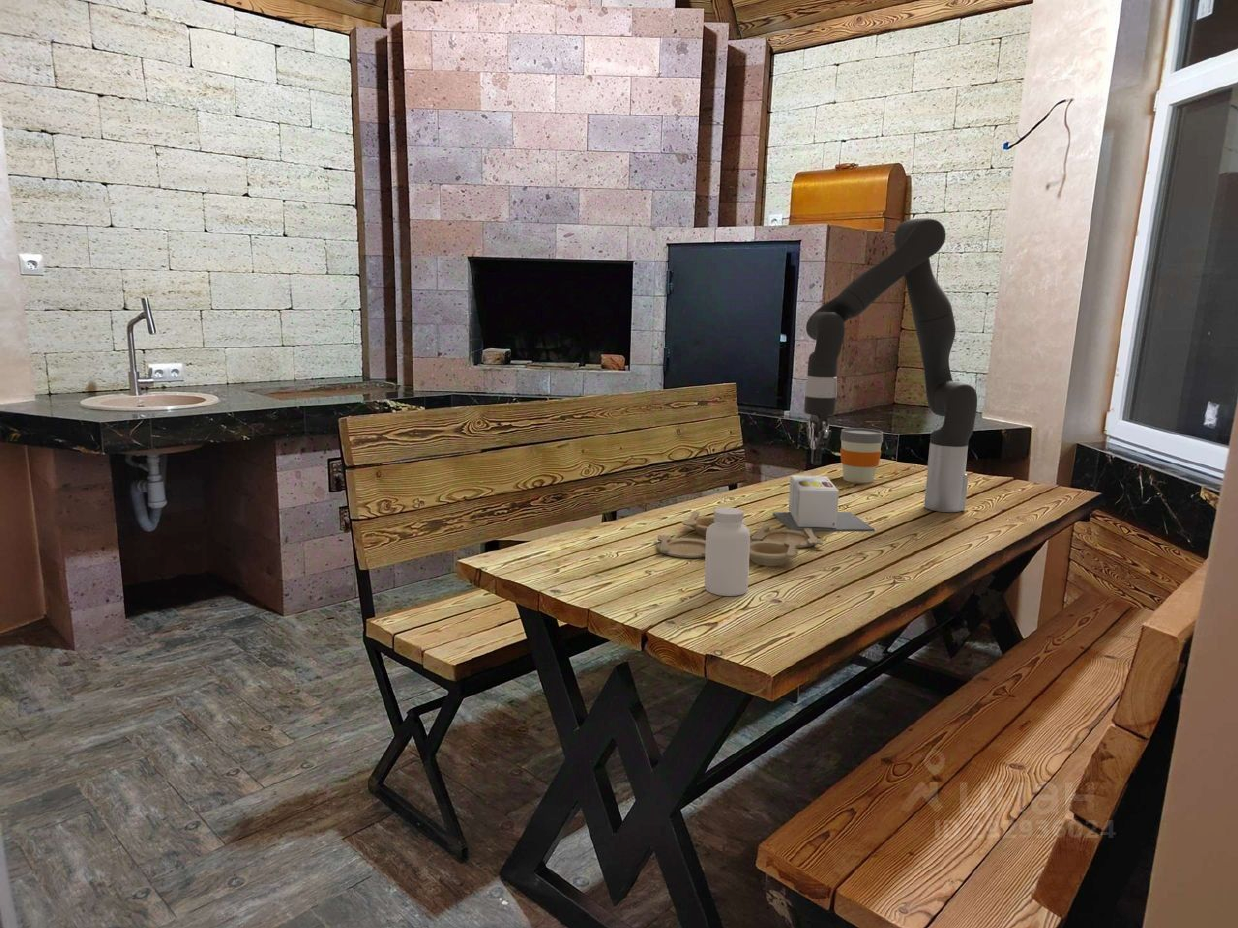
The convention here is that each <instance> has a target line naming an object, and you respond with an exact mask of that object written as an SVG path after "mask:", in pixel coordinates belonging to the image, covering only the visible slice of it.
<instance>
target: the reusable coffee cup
mask: <svg viewBox="0 0 1238 928" xmlns="http://www.w3.org/2000/svg"><path fill="white" fill-rule="evenodd" d="M840 432H841V433H840V437H839V439H840V442H841V444H840V445H841V447H840V448H839V451H840V463H841V464H842V474H843V475H842V477H843V480H844V481H846V482H851V483H859V484H867V483H868V484H870V483H873V482H874V481H875V476H876V472H877V467H878V466H880V465H879V464H880V460H881V456H882V450H881V448H882V443H883V442H884V432H883V431H881V430H879V429H878V430H877V429H874V428H873V429H870V428H861V427H860V428H857V427H850V428H849V427H848V428H843V429H841V431H840Z"/></svg>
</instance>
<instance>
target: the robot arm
mask: <svg viewBox="0 0 1238 928" xmlns="http://www.w3.org/2000/svg"><path fill="white" fill-rule="evenodd" d="M946 235H947V233H946V229H945V227H944V225H943V223H942V221H940V220H938V219H935V218H931V217H922V218H913V219H907V220H904V221H903V222H901V223H900V224H899V225H898V226H897V227H896V229H895V232H894V236H893V240H894V241H893V243H894V244H893V245H894V249H895V250H894V251H893V252H892V253H890V255H888V256H886V257H885V258H884V259H883V260H881V261H880V262H878V263H876V264H875V265H873V266H872V267H870V268H868V269H867V270H865V271H864V272H862V273H861V274H860V275H858V276H857V277H856V278H855V279H853V280H852V281H851V282H850V283H849V284H848V285H847V286H846V287H845V288H844V289H843V290H842V291H841V292H840V293H839V294H838V295H837V296H835V297H834V298H832V299H830V300H829V301H828V302H826V303H825V304H823V305H822V306H821V307H819V308H818V309H817V310H816V311H814V312H813V313H812V314H811V315H810V317H809V318H808V320H807V322H806V325H805V330H806V331H805V332H806V334H807V335H808V336H809V337H810V339H812V340H813V341H816V342H815V345H814V346H815V347H814V351H812V352H811V353H810V354H809V356H808V361H807V372H806V373H807V374H806V375H807V376H806V382H805V390H804V405H803V407H804V408H803V413H804V414H806V415H809V416H810V417H809V420H808V423H806V424H805V428H806V437H807V442H808V445H809V446H810V449H811V458H810V463H811V464H813V466H820V465H821V464H822V461H823V450H824V449H827V448H828V444H829V441H830V439H831V436H832V430H831V429H830V428H829V427H830V423H829V416H834V415H835V414H836V408H837V396H838V395H837V392H838V382H837V380H838V365H839V363H838V361H839V356H840V354H841V350H842V347H843V345H844V344H843V343H844V339H845V334H846V325H845V322H847V321H848V320H850V319H851V320H852V319H854V318H856V317H858V316H859V315H860V314H862V313H863V312H864V311H865V310H866V309H867V308H868V307H870V306H871V304H873V303H874V301H876V300H877V299H878V298H879V297H880V296H882V295H883V293H885V292H886V290H888V289H890V287H891V286H893V285H895V283H896V282H898V281H899V280H900V279H902V278H904V280H905V284H906V289H907V294H908V299H909V303H910V307H911V312H912V319H913V323H914V329H915V332H916V336H917V341H918V345H919V351H920V356H921V360H922V361H921V362H922V367H923V375H924V383H925V393H926V396H925V397H926V402H927V405H928V408H929V409H930V411H931V412H932V413H933V414H934V415H936V416H939V417H943V418H944V419H943V424H942V427H940V428H939V429H935V430H933V431H932V432H931V433H930V437H929V438H930V440H929V441H930V442H929V447H928V448H929V449H928V460H927V472H926V482H925V494H924V503H923V506H924V508H926V509H927V510H930V511H934V512H935V511H936V512H943V513H956V512H957V513H959V512H961V511H966V506H967V505H966V502H967V494H968V484H969V475H968V474H967V473H966V469H967V460H968V449H969V440H970V438H971V436H972V435H973V432H974V427H975V426H974V425H975V422H976V421H975V420H976V415H977V413H976V412H977V408H978V396H977V392H976V389H975V388H974V387H973V386H972V385H970V384H969V383H965V382H958V381H954V380H953V377H952V373H951V368H950V363H949V361H950V354H951V350H952V347H953V344H954V342H955V338H956V329H957V328H956V323H955V318H954V312H953V308H952V307H953V306H952V305H951V301H950V300H949V297H948V295H947V294H946V292H945V291H944V289H943V288H942V286H941V285H940V283H939V281H938V279H937V278H936V276H935V275H934V272H933V269H932V263H931V260H930V258H931V257H933V256H934V255H936V253H938V252H939V251H940V250H941V249H942V247H943V246H944V243H945V240H946ZM829 429H830V430H829Z"/></svg>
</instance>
